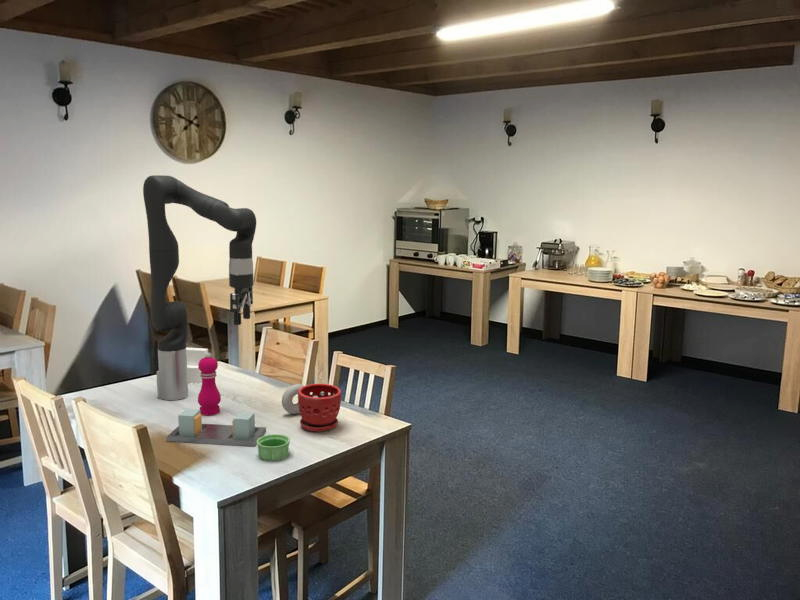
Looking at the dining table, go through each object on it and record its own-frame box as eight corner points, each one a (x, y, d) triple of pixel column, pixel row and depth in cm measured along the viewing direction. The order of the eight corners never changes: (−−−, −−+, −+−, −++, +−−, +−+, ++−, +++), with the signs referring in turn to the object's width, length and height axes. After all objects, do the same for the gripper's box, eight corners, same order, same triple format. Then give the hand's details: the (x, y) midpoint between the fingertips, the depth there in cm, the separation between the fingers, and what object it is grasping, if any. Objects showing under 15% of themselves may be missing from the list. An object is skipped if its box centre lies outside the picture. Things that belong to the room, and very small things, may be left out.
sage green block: (179, 438, 191) (178, 415, 190) (187, 431, 196) (186, 408, 195) (195, 439, 191) (194, 416, 189) (203, 432, 196) (202, 409, 195)
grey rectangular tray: (166, 441, 189) (166, 436, 188) (183, 427, 199) (182, 422, 199) (254, 446, 186) (254, 441, 186) (266, 431, 197) (265, 427, 197)
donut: (284, 418, 208) (284, 388, 206) (280, 415, 211) (279, 385, 209) (312, 412, 214) (312, 383, 212) (307, 409, 217) (307, 380, 215)
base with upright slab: (179, 382, 242) (178, 351, 240) (191, 375, 251) (190, 345, 248) (202, 384, 240) (201, 352, 238) (213, 377, 249) (212, 346, 247)
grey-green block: (232, 441, 190) (231, 418, 188) (238, 434, 195) (238, 412, 194) (248, 442, 189) (248, 419, 188) (255, 435, 194) (254, 413, 193)
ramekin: (260, 464, 175) (260, 448, 174) (254, 451, 183) (253, 436, 183) (293, 459, 179) (293, 443, 178) (285, 446, 187) (285, 432, 186)
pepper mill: (214, 417, 208) (212, 356, 205) (194, 415, 210) (191, 354, 206) (225, 409, 215) (223, 350, 211) (205, 407, 217) (202, 349, 213)
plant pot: (290, 431, 198) (289, 393, 196) (311, 416, 210) (311, 381, 208) (328, 437, 193) (328, 399, 191) (348, 423, 205) (348, 386, 203)
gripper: (237, 268, 214) (238, 316, 218) (221, 274, 201) (222, 326, 204) (259, 269, 214) (260, 317, 217) (244, 275, 200) (245, 327, 203)
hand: (242, 321), depth 210 cm, fingers open, 8 cm apart
